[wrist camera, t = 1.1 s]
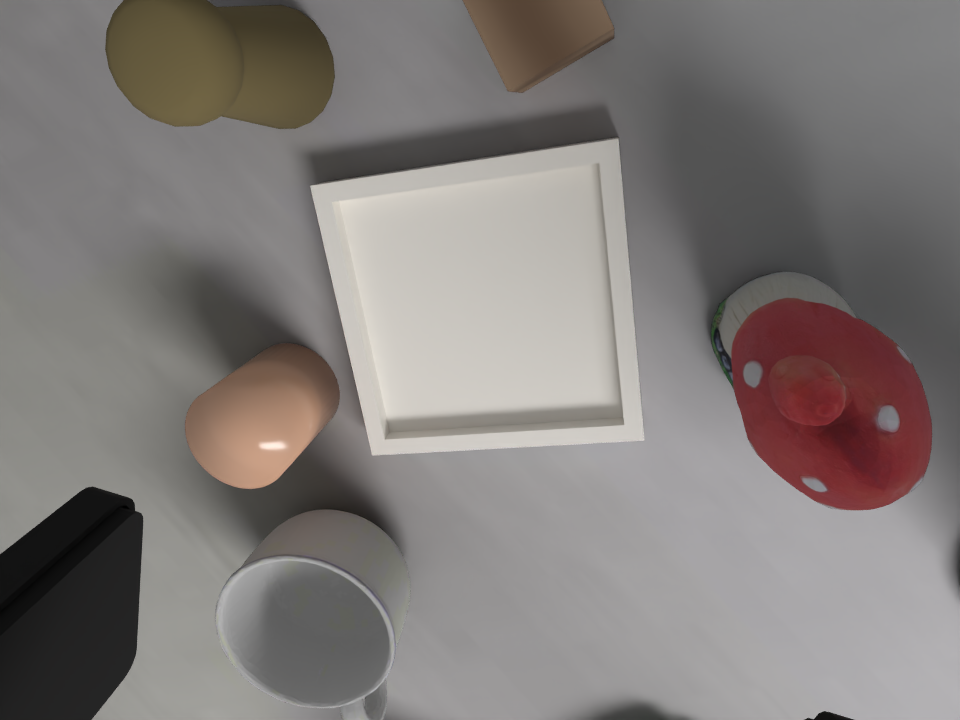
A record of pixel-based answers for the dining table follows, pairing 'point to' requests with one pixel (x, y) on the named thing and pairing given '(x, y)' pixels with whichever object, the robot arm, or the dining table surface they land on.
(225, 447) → the peach rounded cylinder
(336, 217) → the tray
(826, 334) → the decorative ornament
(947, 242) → the dining table surface
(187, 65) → the cork
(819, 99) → the dining table surface
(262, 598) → the teacup
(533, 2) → the walnut block
